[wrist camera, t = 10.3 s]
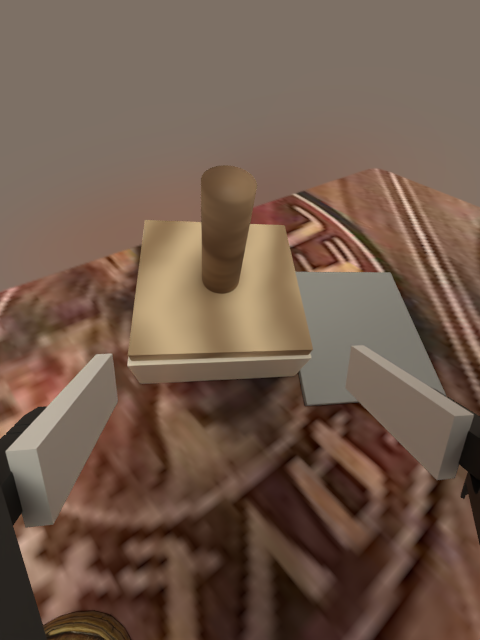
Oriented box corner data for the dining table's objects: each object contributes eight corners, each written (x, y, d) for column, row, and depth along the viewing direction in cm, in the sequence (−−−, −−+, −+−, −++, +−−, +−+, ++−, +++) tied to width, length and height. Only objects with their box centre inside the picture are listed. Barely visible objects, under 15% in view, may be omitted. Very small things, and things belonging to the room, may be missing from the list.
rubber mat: (387, 275, 36) (390, 272, 35) (441, 396, 28) (446, 395, 28) (278, 274, 34) (280, 271, 33) (305, 405, 26) (307, 404, 25)
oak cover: (281, 233, 30) (316, 129, 21) (308, 354, 23) (377, 278, 14) (147, 229, 28) (119, 111, 19) (131, 361, 21) (75, 275, 12)
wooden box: (272, 262, 34) (282, 232, 30) (294, 376, 27) (311, 358, 23) (151, 261, 32) (143, 228, 28) (140, 383, 25) (127, 365, 21)
